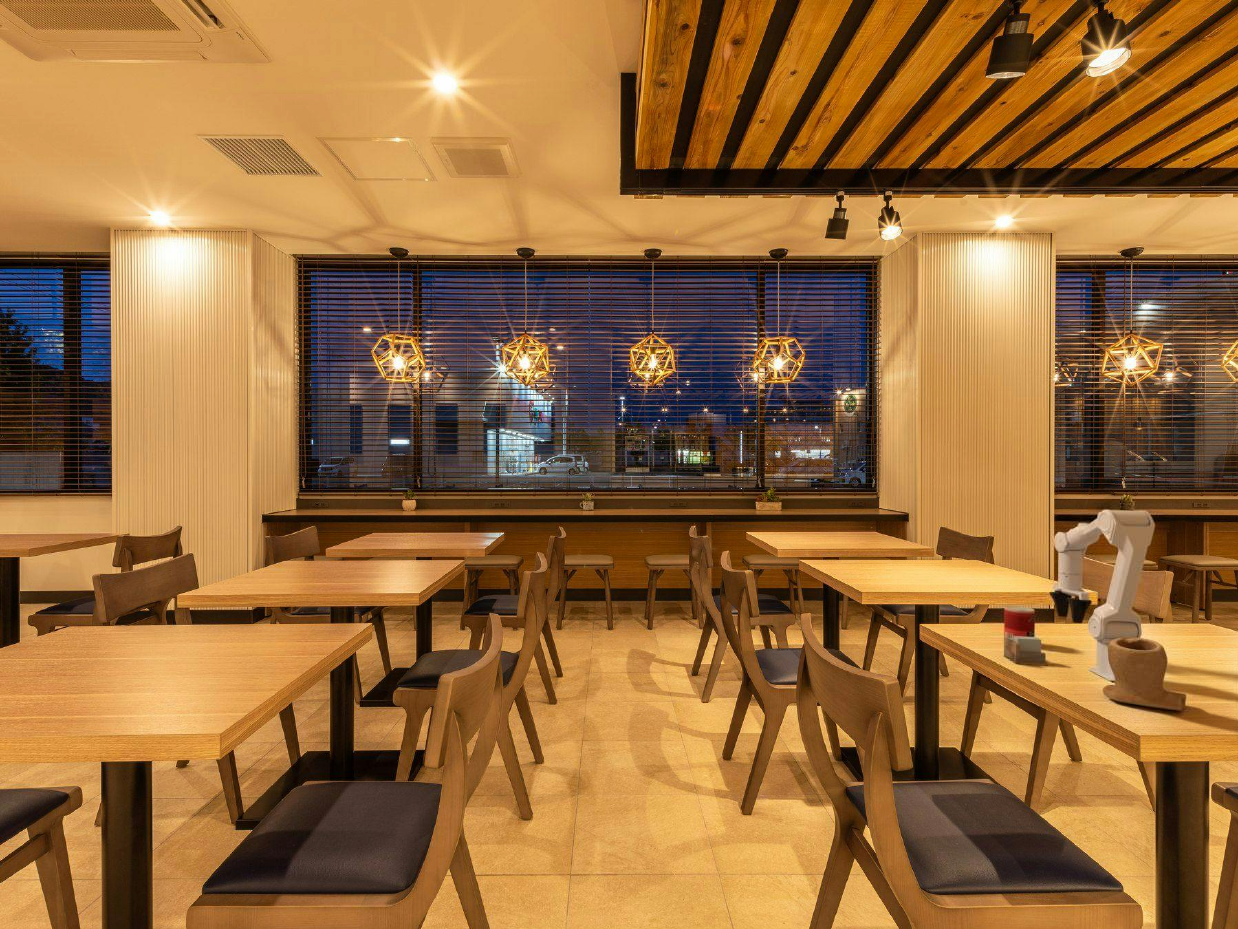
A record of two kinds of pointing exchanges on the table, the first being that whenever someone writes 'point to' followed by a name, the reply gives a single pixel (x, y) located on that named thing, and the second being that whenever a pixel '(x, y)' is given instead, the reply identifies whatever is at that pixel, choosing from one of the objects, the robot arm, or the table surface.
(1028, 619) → the canned food
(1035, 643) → the grey square block
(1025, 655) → the grey stepped holder
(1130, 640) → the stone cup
